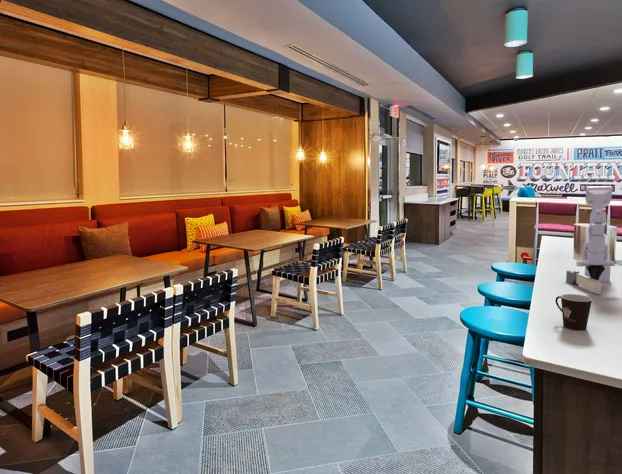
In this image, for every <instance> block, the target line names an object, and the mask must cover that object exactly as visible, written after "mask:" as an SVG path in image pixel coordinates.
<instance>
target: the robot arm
mask: <svg viewBox="0 0 622 474" xmlns="http://www.w3.org/2000/svg"><path fill="white" fill-rule="evenodd" d="M612 197H613V187H612V186H611V185H609V186H608V185H602V186H598V185H596V186H589V185H588V186H586V188H585V204H586V205H588V206H590V208H591V212H590V214H589V225H588V228H587V230H588V231H587V235H588V241H586V242H584V243H583V245H582V246H583V247H582V260H580V261H579V260H578V261H576V267H584V275H585V276H588V277H590V278H593V279H595V280H598V281H600V282H601V283H602V282H603V283H606V282H607V283H608V282H609V283H610V282H611V267H615V266H616V261H613V260H608V259H609V245H608V244H607V243H606V237H607V235H608V223H607V212H606V211H605V210H604V208H605V206H607V205H610V203H611V202H612V201H611V200H612Z"/></svg>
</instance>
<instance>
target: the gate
mask: <svg viewBox="0 0 622 474" xmlns="http://www.w3.org/2000/svg"><path fill="white" fill-rule="evenodd" d="M576 275H577V280H576V283H577V284H579V285H578V286H581V287H584V288H585V289H587V290H590V291H591V292H594V294H596V295H601V293H602V292H601V291H602V282H600V281H598V280H595V279H593V278H590V277H588V276H585V274H583V273H580V272H579V273H576Z"/></svg>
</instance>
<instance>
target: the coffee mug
mask: <svg viewBox="0 0 622 474" xmlns="http://www.w3.org/2000/svg"><path fill="white" fill-rule="evenodd" d="M559 299H560V301H561V302H560V303H561V306H560V305H559V303H558V300H559ZM592 302H593V298H592V297H589V296H587V295H583V294H576V293H568V294H567V293H566V294H561V295H560V296H557V297H555V304H556V306H557V308H558V309H559V310H560V312H561V313H562V314H561V315H562V325H563V328H565V329H567V330H570V331H578V332H579V331H580V332H581V331H585V330H587V327H588V323H589V316H590V313H591V312H590V311H591V306H592Z"/></svg>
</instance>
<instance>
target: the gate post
mask: <svg viewBox="0 0 622 474" xmlns="http://www.w3.org/2000/svg"><path fill="white" fill-rule="evenodd" d="M576 273H580V271H578V270H573V271H572V270H566V275H565V277H566V278H565V281H566V282H567V283H570V284H572V285H573V286H580V285H579V284H577V283H576V280H577V275H576Z"/></svg>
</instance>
